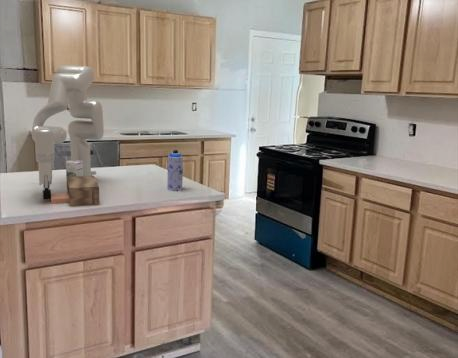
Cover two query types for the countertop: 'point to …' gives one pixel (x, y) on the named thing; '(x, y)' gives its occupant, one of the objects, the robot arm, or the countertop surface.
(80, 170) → the syrup box
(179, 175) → the aerosol can
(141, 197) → the countertop surface
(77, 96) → the robot arm
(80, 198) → the brown box
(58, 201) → the panel
